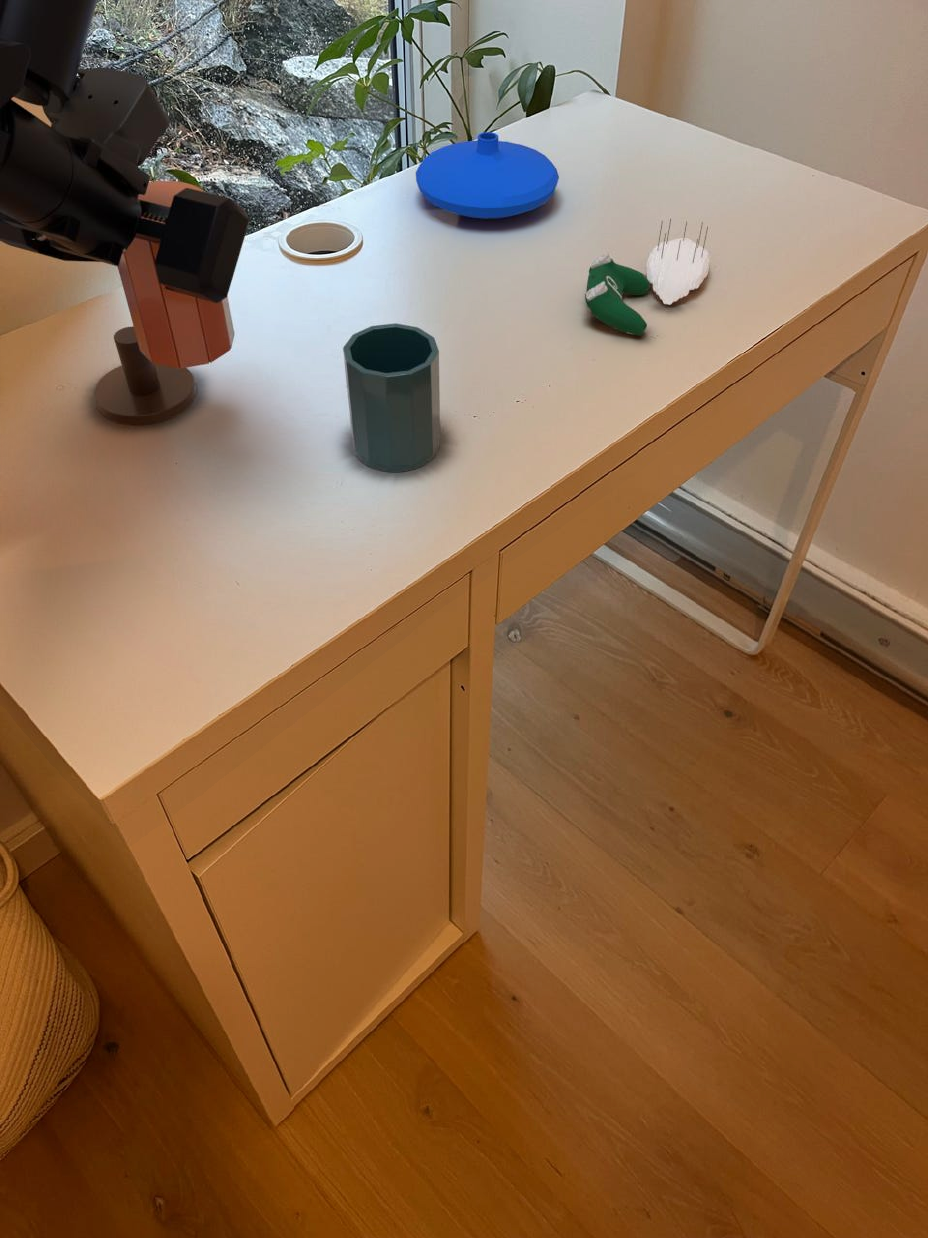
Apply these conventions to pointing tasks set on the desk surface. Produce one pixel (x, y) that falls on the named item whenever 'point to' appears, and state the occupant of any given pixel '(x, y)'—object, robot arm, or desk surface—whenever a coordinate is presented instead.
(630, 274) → the green christmas stockings
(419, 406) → the teal cup
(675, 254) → the pincushion
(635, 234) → the desk surface
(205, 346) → the fluted orange cylinder
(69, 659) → the desk surface
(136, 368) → the towel holder
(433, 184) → the vase
